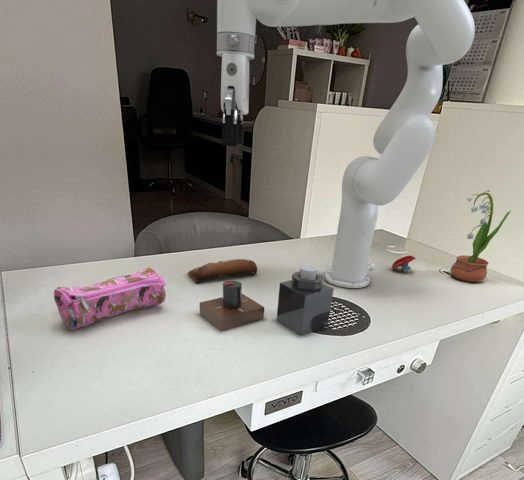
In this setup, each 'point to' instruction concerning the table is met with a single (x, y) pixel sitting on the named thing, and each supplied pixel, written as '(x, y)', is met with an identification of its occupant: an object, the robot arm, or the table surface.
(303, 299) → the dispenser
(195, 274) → the sunglasses case
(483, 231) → the potted flower
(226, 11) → the robot arm
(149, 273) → the pencil case
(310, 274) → the grey cylinder plug
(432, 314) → the table surface
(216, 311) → the control box
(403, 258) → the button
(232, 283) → the dial
